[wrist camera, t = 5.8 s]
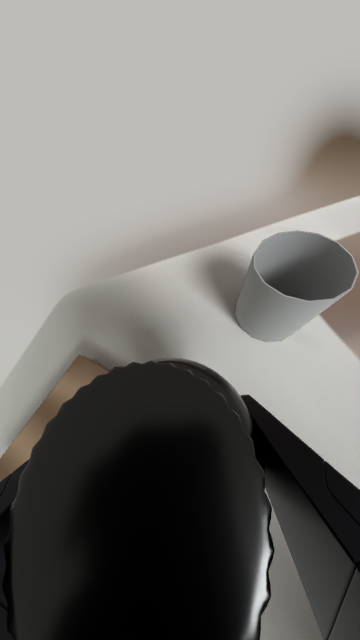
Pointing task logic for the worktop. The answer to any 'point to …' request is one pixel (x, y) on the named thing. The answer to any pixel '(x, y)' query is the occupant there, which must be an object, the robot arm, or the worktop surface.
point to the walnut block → (48, 412)
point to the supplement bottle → (142, 514)
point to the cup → (292, 283)
